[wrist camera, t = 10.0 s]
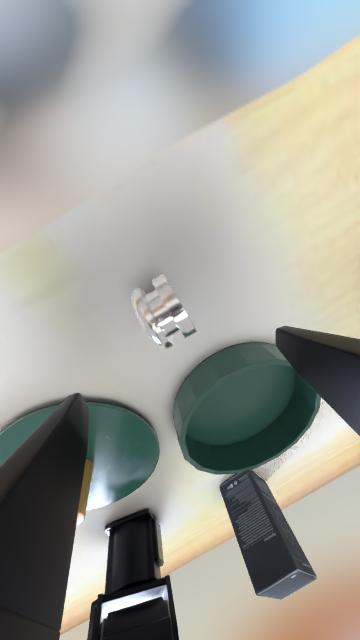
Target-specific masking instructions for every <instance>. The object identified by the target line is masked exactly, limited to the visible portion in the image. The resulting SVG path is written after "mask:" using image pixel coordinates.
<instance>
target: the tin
mask: <svg viewBox="0 0 360 640" xmlns="http://www.w3.org/2000/svg"><path fill="white" fill-rule="evenodd" d="M320 400H321V396H320V395H319V394H318V393H317V392H316V391H315V390H314V389H313V388H312V387H311V386H310V385H309V384H308V383H307V382H306V381H305V380H304V379H303V378H302V377H301V376H300V375H299V374H298V373H297V372H296V370H295V369H294V368H293V367H292V366H291V364H290V363H289V362H288V361H287V359H286V358H285V357H284V356H283V354H282V353H281V352H280V351H279V350H278V348H277V346H275V345H272V344H268V343H261V342H250V343H243V344H238V345H234V346H231V347H229V348H226V349H223V350H221V351H219V352H217V353H215V354H213V355H212V356H210V357H209V358H207V359H206V360H204V361H203V362H202V363H201V364H199V365H198V366H197V367H196V368H195V369H194V370H193V371H192V372H191V373H190V374H189V376H188V377H187V378H186V379H185V381H184V382H183V384H182V386H181V387H180V389H179V392H178V394H177V396H176V400H175V404H174V415H173V418H174V423H175V427H176V432H177V436H178V440H179V444H180V447H181V450H182V453H183V455H184V458H185V460H186V461H188V462H189V463H190V464H191V465H193V466H194V467H195V468H196V469H198V470H200V471H204V472H208V473H212V474H235V473H240V472H243V471H247V470H250V469H254V468H257V467H259V466H261V465H263V464H265V463H267V462H269V461H271V460H273V459H275V458H277V457H278V456H280V455H281V454H282V453H284V452H285V451H286V450H288V449H289V448H290V447H291V446H293V445H294V444H295V443H296V442H297V441H298V440H299V439H300V438H301V437H302V435H303V434H304V433H305V432H306V431H307V430H308V429H309V427H310V426H311V424H312V422H313V420H314V418H315V416H316V414H317V412H318V410H319V408H320Z"/></svg>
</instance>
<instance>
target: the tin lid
mask: <svg viewBox="0 0 360 640" xmlns="http://www.w3.org/2000/svg"><path fill="white" fill-rule="evenodd" d="M86 403H87V405H88V407H89V429H88V449H87V456H86V463H85V470H84V476H83V483H82V489H81V496H80V503H79V509H78V516H77V523H76V526H78V525H79V524H81V523H82V522H83V521H84V519H85V514H86V511H88V510H92V509H96V508H100V507H103V506H106V505H108V504H111V503H113V502H116V501H118V500H120V499H122V498H124V497H126V496H127V495H129V494H130V493H132V492H134V491H135V490H136V489H137V488H139V487H140V486H141V485H142V484H143V483H144V482H145V481H146V480H147V479H148V478H149V477H150V475H151V474H152V472H153V471H154V469H155V467H156V465H157V462H158V459H159V442H158V438H157V435H156V433H155V432H154V430H153V428H152V427H151V426H150V425H149V423H148V422H146V421H145V420H144V419H143V418H142V417H140V416H139V415H137V414H135V413H133V412H131V411H129V410H127V409H124V408H121V407H118V406H115V405H110V404H105V403H96V402H86ZM59 405H60V404H59ZM59 405H54V406H50V407H47V408H43V409H40V410H37V411H35V412H32V413H29V414H27V415H26V416H24V417H22V418H20V419H18V420H16V421H15V422H13V423H12V424H10V425H9V426H7V427H6V428H5V429H4V430H3V431H2V432H1V433H0V466H1V465H2V464H3V463H4V462H5V461H6V460H7V459H8V458H9V457H10V456H11V455H12V454H13V453H14V452H15V451H16V450H17V449H18V448H19V447H20V446H21V445H22V444H23V442H24V441H25V440H26V439H27V438H28V437H29V436H30V435H31V434H32V433H33V432H34V431H35V430H36V429H37V428H38V427H39V426H40V425H41V424H42V423H43V422H44V421H45V420H46V419H47V418H48V417H49V416H50V414H51V413H52V412H53V411H54V410H55V409H56V408H57V407H58V406H59Z"/></svg>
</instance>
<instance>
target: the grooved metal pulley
mask: <svg viewBox="0 0 360 640" xmlns="http://www.w3.org/2000/svg"><path fill="white" fill-rule="evenodd" d="M152 283H153V285H154V287H155V290H154V291H152V292H150V293H149V294H147V295H146V294H145V292H144V291H143V290H142V289H141V288H138V289H136V290H135V291H134V292H133V293H132V295H131V304H132V307H133V310H134V312H135V314H136V316H137V318H138V320H139V322H140V324H141V325H142V327H143V329H144V330H145V332H146V333H147V334H148V336H149V337H150V338H151V340H152V341H153V342H154V343H155V344H156V345H157V346H158V347H160V348H163V349H168V348H170V347H172V346H174V341H173V339H172V337H171V336H172V335H174V334H176V333H177V332H179V331H181V332H182V334H183V335H184V337H185V338H187V337H189V336H191V335H192V334H194V333H196V332H197V331H196V329H195V327H194V325H193V324H192V322H191V320H190V318H189V316H188V315H187V313H186V311H185V309H184V308H183V306H182V304H181V303H180V301H179V299H178V298H177V296H176V294H175V293H174V291H173V289H172V288H171V286H170V284H169V283H168V281H167V280H166V278H165V277H164V275H163V274H161V275H160V276H158V277H156V278H155V279H153V280H152Z"/></svg>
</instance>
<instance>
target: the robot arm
mask: <svg viewBox="0 0 360 640" xmlns="http://www.w3.org/2000/svg"><path fill="white" fill-rule="evenodd" d="M276 346H277V348H278V350H279V351H280V352H281V353H282V354H283V356H284V357H285V358H286V359H287V361H288V362H289V363H290V364H291V366H292V367H293V368H294V369H295V370H296V372H297V373H298V374H299V375H300V376H301V377H302V378H303V379H304V380H305V381H306V382H307V383H308V384H309V385H310V386H311V387H312V388H313V389H314V390H315V391H316V392H317V393H318V394H319V395H320V396H321V397H322V398H323V399H324V400H325V401H326V402H327V403H328V404H329V405H330V406H331V407H332V408H333V409H334V410H335V412H336V413H337V414H338V415H339V416H340V417H341V418H342V419H343V420H344V421H345V422H346V423H347V424H348V425H349V426H350V427H351V428H352V429H353V430H354V431H355V432H356V433H357V434H358V435H359V436H360V339H356V338H351V337H345V336H339V335H334V334H328V333H323V332H317V331H311V330H306V329H300V328H294V327H289V326H283V327H280V328H277V329H276ZM88 429H89V407H88V405H87V403H86V402H85V400H84V399H83V397H82V395H81V394H80V393H76V394H73V395H70V396H68V397H67V398H66V399H65V400H64V401H63V402H62V403H61V404H60V405H59V406H58V407H57V408H56V409H55V410H54V411H53V412H52V413H51V414H50V416H49V417H48V418H47V419H46V420H45V421H44V422H43V423H42V424H41V425H40V426H39V427H38V428H37V429H36V430H35V431H34V432H33V433H32V434H31V435H30V436H29V437H28V438H27V439H26V440H25V441H24V442H23V444H22V445H21V446H20V447H19V448H18V449H17V450H16V451H15V452H14V453H13V454H12V455H11V456H10V457H9V458H8V459H7V460H6V461H5V462H4V463H3V464H2V465H1V466H0V640H59V637H60V632H59V631H60V629H61V622H62V616H63V609H64V602H65V596H66V589H67V583H68V576H69V569H70V563H71V556H72V549H73V543H74V536H75V529H76V523H77V516H78V509H79V503H80V496H81V489H82V483H83V476H84V470H85V463H86V456H87V449H88ZM105 532H106V533H107V535H108V536H109V545H108V558H107V572H106V585H105V594H103V593H102V594H99V595H98V599H97V600H95V601H94V602H92V604H91V613H90V622H89V631H88V638H87V640H179V636H178V628H177V621H176V615H175V609H174V601H173V595H172V589H171V582H170V576H169V575H167V576H165V577H163V578H161V574H160V567H161V566H163V563H164V562H163V551H162V541H161V530H160V525H159V523H158V522H157V520H156V519H155V518H154V517H153V515H152V514H151V512H150V510H144V511H141V512H139V513H136V514H134V515H131V516H129V517H126V518H124V519H121V520H119V521H116V522H114V523H111V524H109V525H107V526H105ZM106 616H107V618H106V619H104V620H103V622H102V618H103V617H106ZM101 622H102V623H101Z"/></svg>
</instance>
